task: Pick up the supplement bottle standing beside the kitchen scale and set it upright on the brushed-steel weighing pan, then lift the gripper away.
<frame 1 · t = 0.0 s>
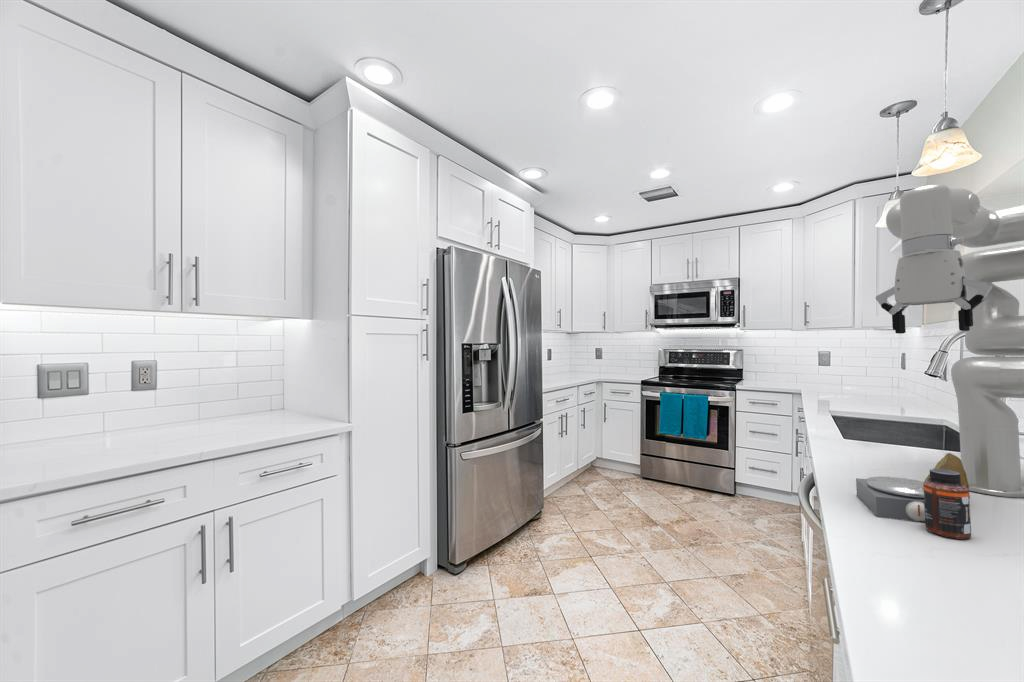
hand: (931, 332, 87), 37 cm above the countertop, tool pointing down, fingers open, 9 cm apart
scale pan: (903, 486, 91), point 5 cm above the countertop, slide at 0.4 cm
scale base: (904, 509, 90), on the countertop
rock: (944, 499, 97), on the countertop
supplement bottle: (947, 534, 79), on the countertop
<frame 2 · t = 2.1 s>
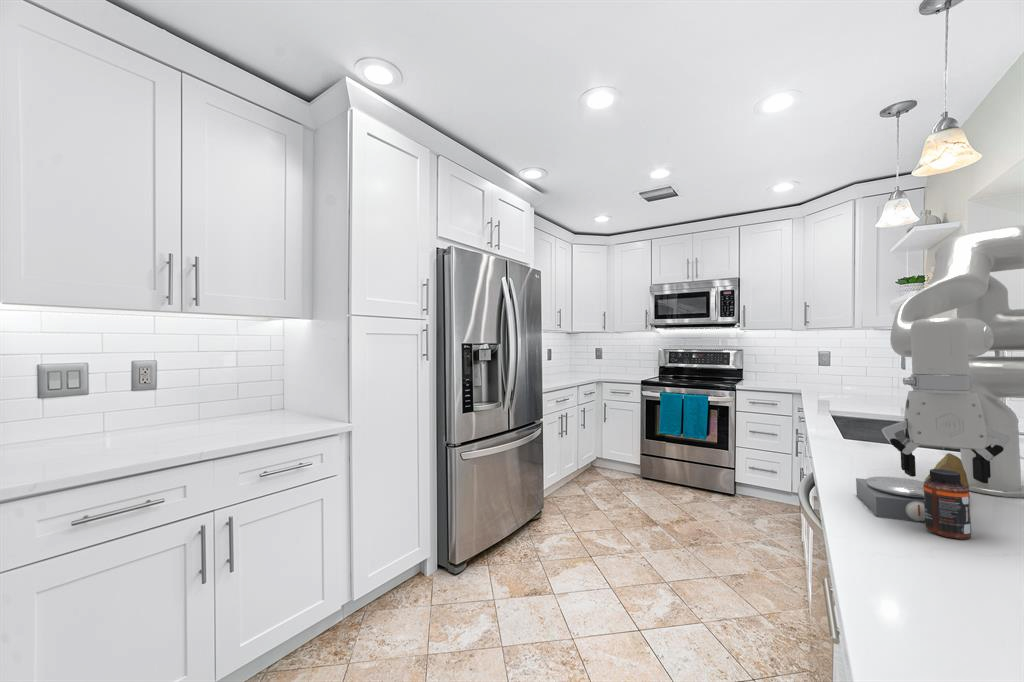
hand: (944, 478, 79), 10 cm above the countertop, tool pointing down, fingers open, 9 cm apart
nothing on the countertop moved.
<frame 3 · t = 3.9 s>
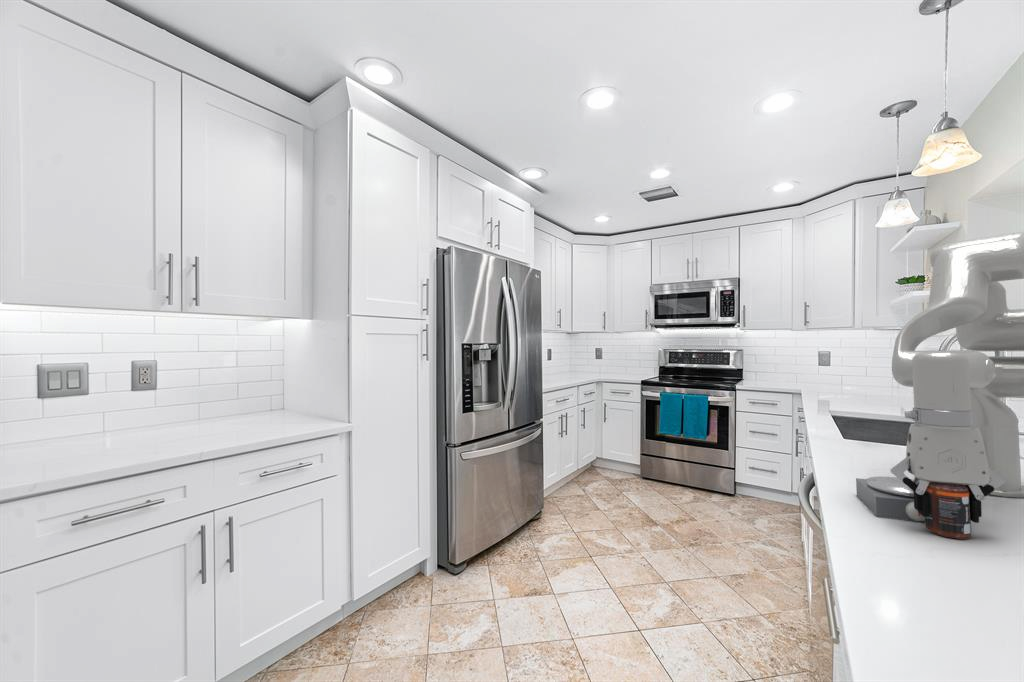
hand: (947, 516, 79), 3 cm above the countertop, tool pointing down, fingers closed on supplement bottle, 6 cm apart
supplement bottle: (947, 534, 79), on the countertop, touching gripper
everything else where it was.
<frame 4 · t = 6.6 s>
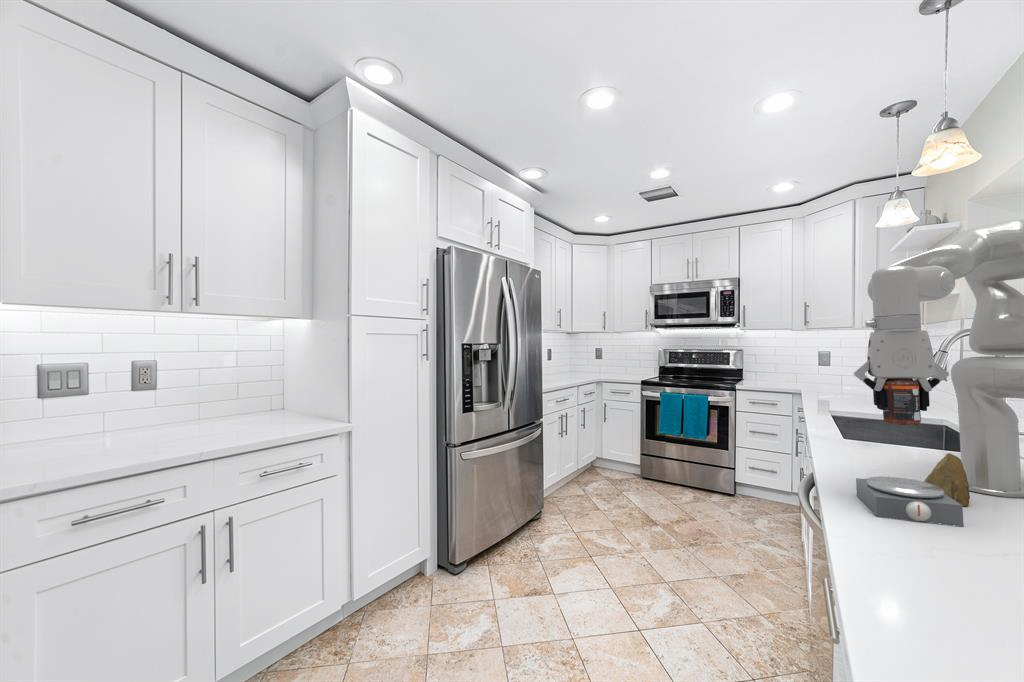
hand: (901, 408, 91), 21 cm above the countertop, tool pointing down, fingers closed on supplement bottle, 6 cm apart
supplement bottle: (901, 424, 91), point 18 cm above the countertop, touching gripper
everything else where it was.
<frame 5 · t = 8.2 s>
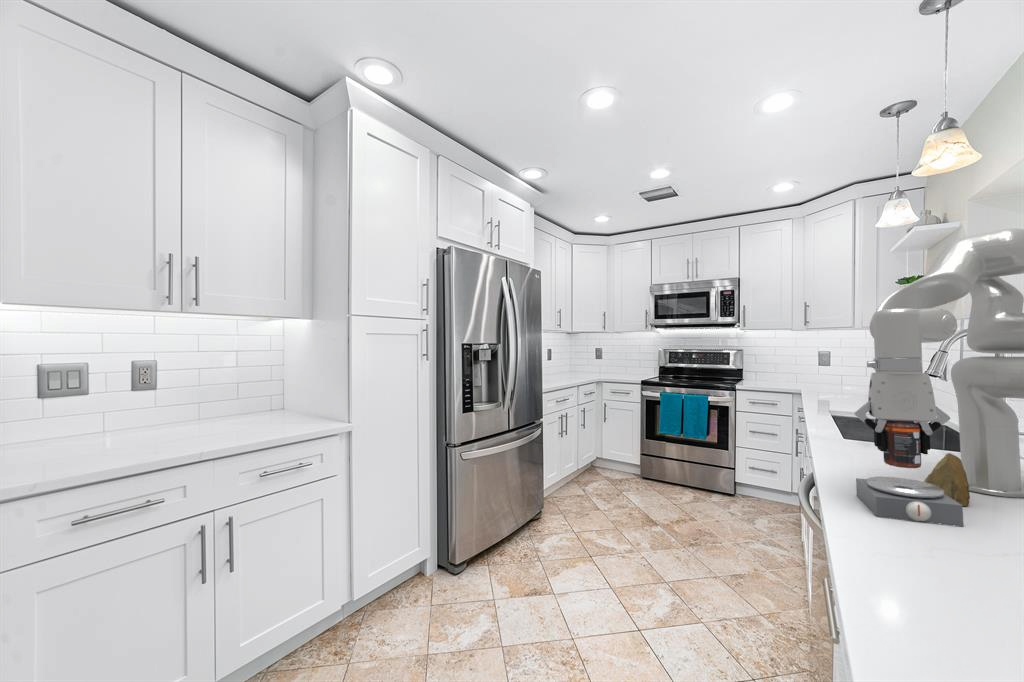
hand: (901, 450, 91), 12 cm above the countertop, tool pointing down, fingers closed on supplement bottle, 6 cm apart
supplement bottle: (902, 466, 91), point 9 cm above the countertop, touching gripper
everything else where it was.
when the fingers open (10 cm above the countertop, at t = 9.6 s): supplement bottle drops 2 cm, resting on scale pan.
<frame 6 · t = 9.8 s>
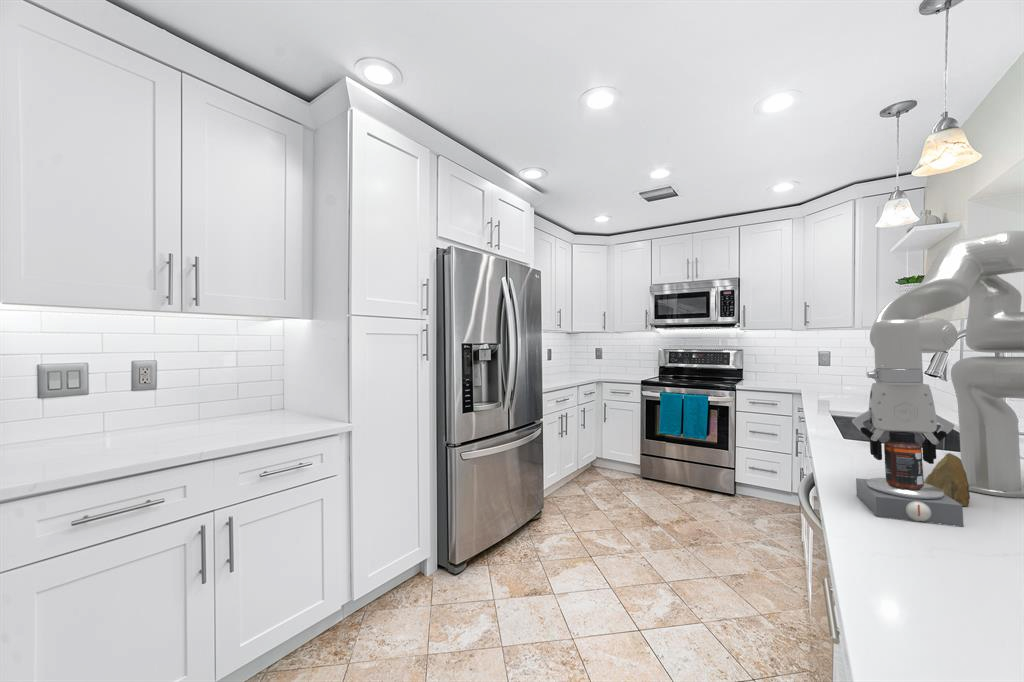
hand: (902, 460, 91), 10 cm above the countertop, tool pointing down, fingers open, 7 cm apart
scale pan: (903, 487, 91), point 5 cm above the countertop, slide at 0.7 cm, touching supplement bottle
supplement bottle: (904, 486, 91), point 5 cm above the countertop, touching scale pan
everything else where it was.
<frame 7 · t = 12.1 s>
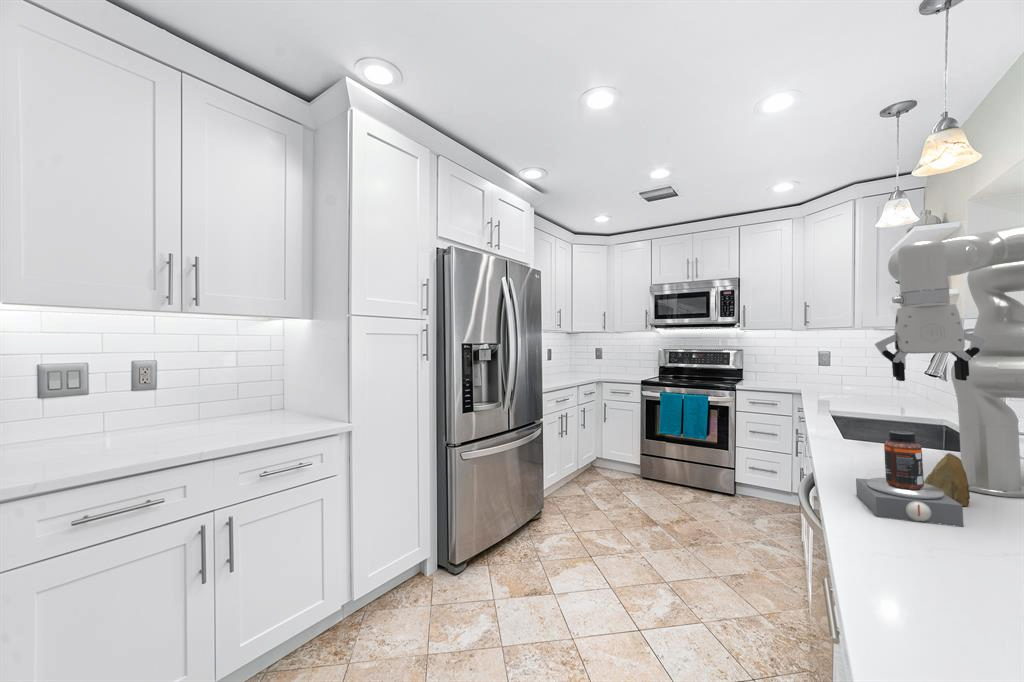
hand: (930, 380, 91), 27 cm above the countertop, tool pointing down, fingers open, 9 cm apart
nothing on the countertop moved.
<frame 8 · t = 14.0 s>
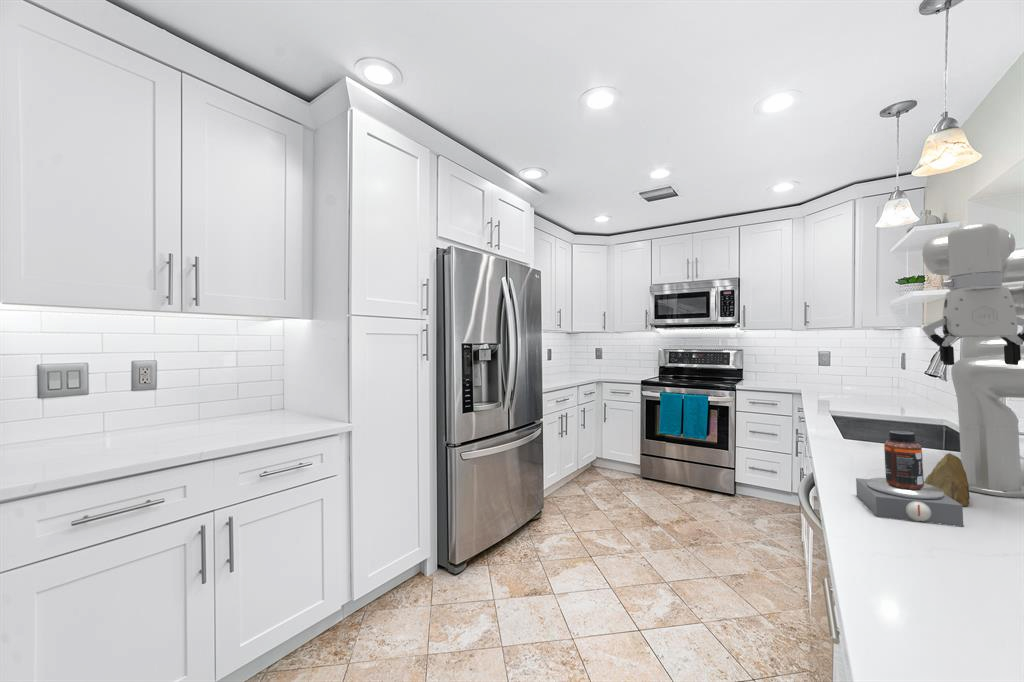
hand: (979, 364, 90), 30 cm above the countertop, tool pointing down, fingers open, 9 cm apart
nothing on the countertop moved.
at the end: supplement bottle inside the target area on the scale base (0.2 cm from its centre), point 4.8 cm above the scale base's base; supplement bottle tilted 0°; supplement bottle touching scale pan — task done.
